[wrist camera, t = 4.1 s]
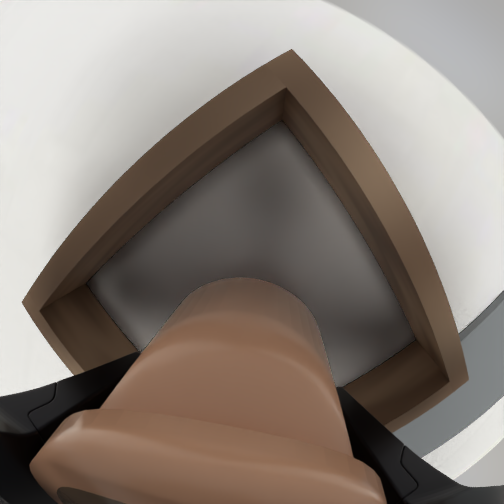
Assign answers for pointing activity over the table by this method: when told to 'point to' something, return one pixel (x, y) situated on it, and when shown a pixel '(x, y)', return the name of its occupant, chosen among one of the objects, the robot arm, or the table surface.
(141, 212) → the brown wooden square frame
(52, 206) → the table surface
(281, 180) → the table surface
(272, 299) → the terracotta pot
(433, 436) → the slate mat
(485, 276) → the table surface
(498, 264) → the table surface
